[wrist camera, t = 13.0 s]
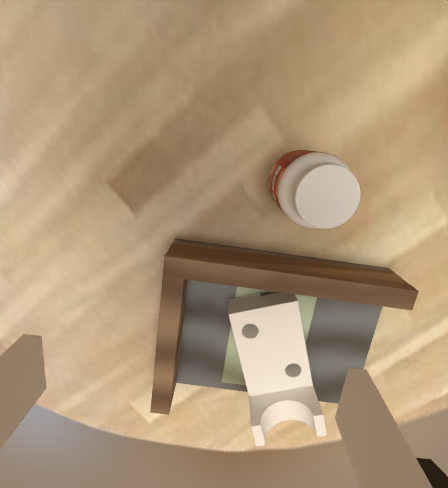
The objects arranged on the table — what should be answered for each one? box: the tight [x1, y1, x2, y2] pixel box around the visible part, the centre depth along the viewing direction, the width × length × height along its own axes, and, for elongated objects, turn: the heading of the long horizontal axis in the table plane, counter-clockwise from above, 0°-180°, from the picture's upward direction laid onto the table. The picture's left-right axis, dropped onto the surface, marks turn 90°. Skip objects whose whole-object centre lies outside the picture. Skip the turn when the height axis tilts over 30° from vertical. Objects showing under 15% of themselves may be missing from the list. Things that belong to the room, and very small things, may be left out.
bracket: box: [229, 292, 327, 446], centre depth 34 cm, size 13×7×8 cm, turn 13°
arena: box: [151, 239, 419, 415], centre depth 36 cm, size 18×24×6 cm
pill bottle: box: [268, 150, 360, 229], centre depth 28 cm, size 6×6×11 cm
